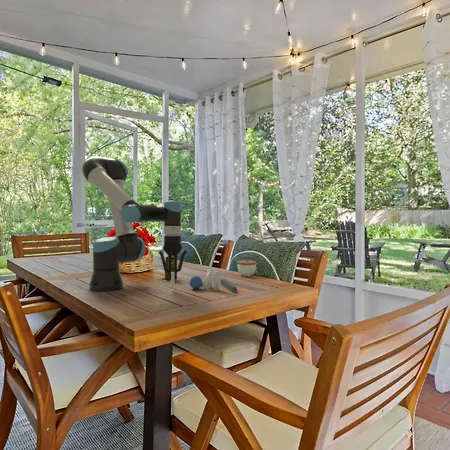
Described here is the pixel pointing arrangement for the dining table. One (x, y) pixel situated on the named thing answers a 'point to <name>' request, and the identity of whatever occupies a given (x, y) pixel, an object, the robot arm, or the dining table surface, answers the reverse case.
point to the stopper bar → (229, 285)
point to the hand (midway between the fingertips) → (172, 286)
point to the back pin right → (216, 280)
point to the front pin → (207, 279)
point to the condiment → (167, 268)
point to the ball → (195, 282)
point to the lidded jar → (246, 267)
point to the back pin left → (210, 281)
